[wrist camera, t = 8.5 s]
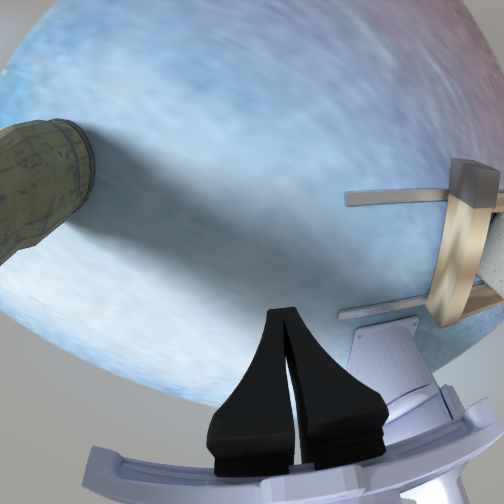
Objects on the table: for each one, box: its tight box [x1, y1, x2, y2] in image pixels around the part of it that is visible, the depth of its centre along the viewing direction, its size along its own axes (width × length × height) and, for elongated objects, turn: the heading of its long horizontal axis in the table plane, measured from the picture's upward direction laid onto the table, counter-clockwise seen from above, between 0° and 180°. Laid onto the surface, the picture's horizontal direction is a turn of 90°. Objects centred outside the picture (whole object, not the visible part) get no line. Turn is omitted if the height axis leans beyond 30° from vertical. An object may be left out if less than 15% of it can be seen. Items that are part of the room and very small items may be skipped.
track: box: [338, 188, 504, 321], centre depth 22 cm, size 13×23×1 cm, turn 97°
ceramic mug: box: [476, 212, 504, 299], centre depth 18 cm, size 11×8×8 cm
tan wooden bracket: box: [425, 158, 504, 328], centre depth 19 cm, size 15×12×4 cm
